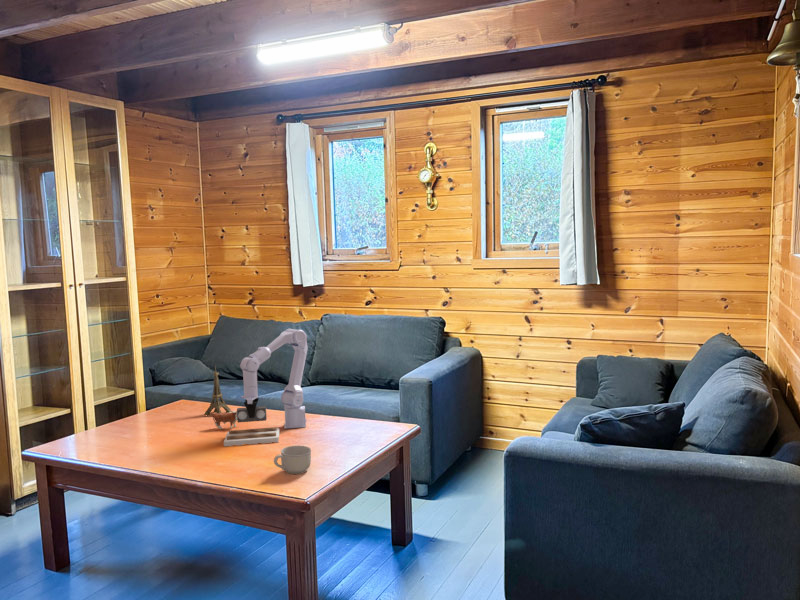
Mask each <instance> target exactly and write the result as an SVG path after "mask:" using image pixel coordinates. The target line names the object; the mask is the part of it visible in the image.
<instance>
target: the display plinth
mask: <svg viewBox="0 0 800 600" xmlns="http://www.w3.org/2000/svg"><path fill="white" fill-rule="evenodd" d="M279 441H280V427H279V428H278V427H277V426H274V427H272V426H271V427H262V428H261V427H260V428H250V429H249V428H247V429H236V430H235V429H232V430H228V431H227V432H226V435H225V438H224V440H223V446H224V447H234V446H233V445H237V446H244V445H243V444H249V445H259V444H258V443H262V444H271V443H272V442H274V443H279Z"/></svg>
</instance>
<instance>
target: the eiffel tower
mask: <svg viewBox="0 0 800 600" xmlns="http://www.w3.org/2000/svg"><path fill="white" fill-rule="evenodd" d="M214 367H215V371H214V372H213V373H212V376H214V377H213V378H214V379H213V391H212V394H211V397H212V398H211V401H210V403H209V406H208V408H207V409H206V410H205V412H204V414H203V415H207V416H206V417H209V416H211V415H210V414H211V412H213V411H214V412H213V413H222V410H221V408H223V410H224V411H225V413H229V412H233V410H231V408H230V407H229V406H228V405H227V404H226V401H224V398H223V393H222V391H221V386H220V380H219V371H218V372H217V365H216V364H215V366H214ZM208 415H209V416H208Z"/></svg>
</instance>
